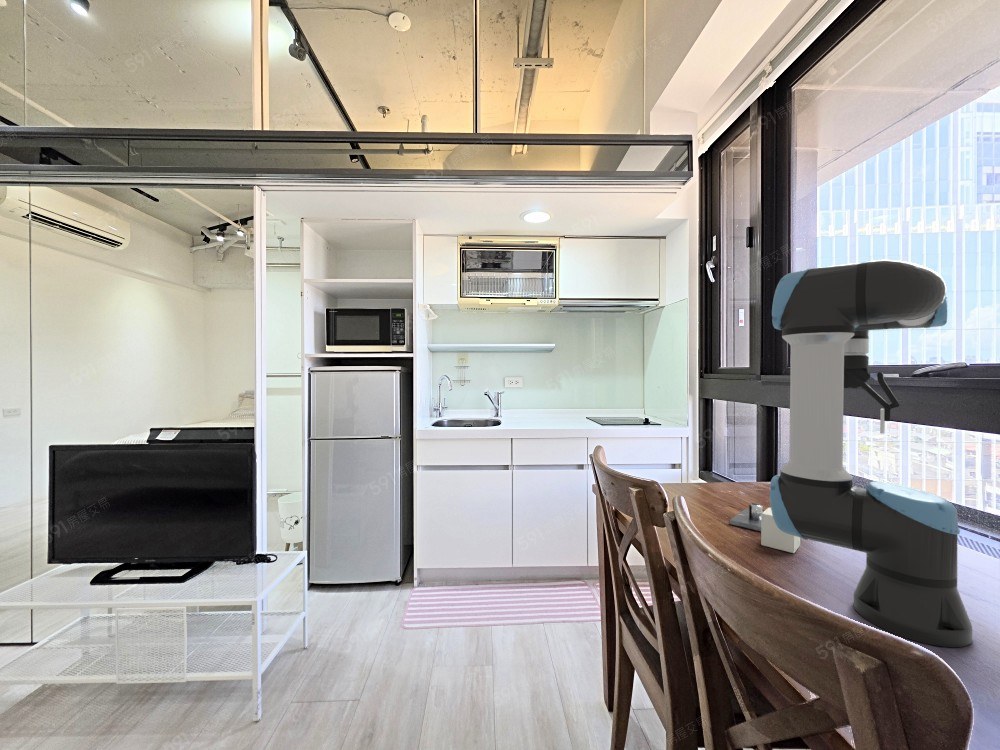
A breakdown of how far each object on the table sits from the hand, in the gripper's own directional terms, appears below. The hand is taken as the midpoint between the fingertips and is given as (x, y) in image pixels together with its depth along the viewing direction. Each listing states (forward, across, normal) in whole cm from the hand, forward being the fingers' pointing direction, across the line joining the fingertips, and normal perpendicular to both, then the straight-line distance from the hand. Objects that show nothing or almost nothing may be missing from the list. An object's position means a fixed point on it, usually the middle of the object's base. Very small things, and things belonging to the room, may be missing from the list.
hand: (849, 430), depth 119 cm
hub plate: (+28, +18, +13) cm, 35 cm away
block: (+28, +11, +27) cm, 40 cm away
